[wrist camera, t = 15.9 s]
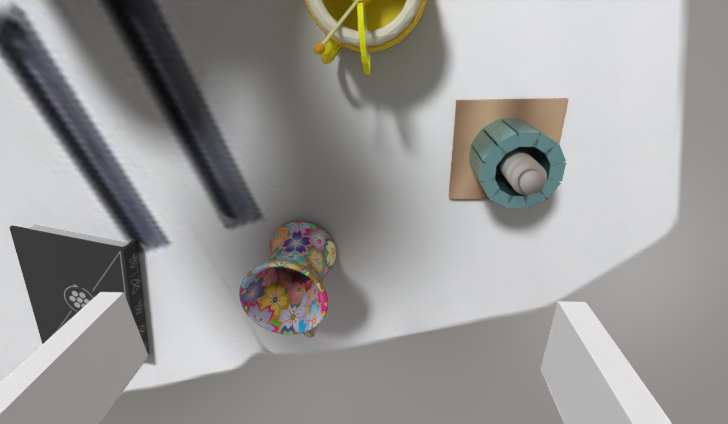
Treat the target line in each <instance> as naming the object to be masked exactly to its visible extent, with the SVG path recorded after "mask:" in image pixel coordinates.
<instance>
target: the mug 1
mask: <svg viewBox="0 0 728 424" xmlns="http://www.w3.org/2000/svg"><path fill="white" fill-rule="evenodd" d="M270 253H271V256H270V258H269V259H268V260H267V261H266V262H265V263H264V264H262V265H260V266H258V267H256V268H254V269H253V270H251V271H250V272H249V273H248V274H247V275H246V276H245V278H244V279H243V281H242V283H241V286H240V301H241V304H242V307H243V309H244V310H245V312H246V313H247V315H248V316H249V317H250V318H251V319H252V320H253V321H254V322H256V323H257V324H258V325H260V326H261V327H263V328H265V329H267V330H270V331H273V332H276V333H281V334H299V333H304V335H305V336H306V337H313V336H314V335H315V332H316V326H317V325H318V324H319V323H320V322H321V321H322V320H323V318H324V317H325V315H326V312H327V308H328V298H327V294H326V291H325V289H324V286H323V276H324V274H326V273H327V272H328V271H329V270H330V269H331V268H332V266H333V264H334V262H335V259H336V248H335V245H334V242H333V240H332V238H331V237H330V236H329V235H328V233H327V232H325V231H324V230H323V229H322V228H320V227H318V226H316V225H314V224H311V223H307V222H292V223H289V224H286V225H284V226H282V227H281V228H279V229H278V230H277V231H276V232H275V233H274V235H273V237H272V239H271V242H270ZM309 330H310V332H309Z"/></svg>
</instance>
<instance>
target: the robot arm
mask: <svg viewBox="0 0 728 424" xmlns="http://www.w3.org/2000/svg"><path fill="white" fill-rule="evenodd" d="M148 357H149V356H148V353H147V351H146V348H145V346H144V343H143V341H142V338H141V336H140V333H139V330H138V328H137V325H136V323H135V320H134V318H133V315H132V313H131V310H130V308H129V305H128V302H127V300H126V297H125V295H124V292H100V293H99V294H98V295H97V296H95V297H94V298H93V299H92V300H91V301H90V302H89V303H88V304H87V305H85V306H84V307H83V308H82V309H81V310H80V311H79V312H78V313H77V314H76V315H74V316H73V317H72V318H71V319H70V320H69V321H68V322H67V323H66V324H64V325H63V326H62V327H61V328H60V329H59V330H58V331H57V332H56V333H54V334H53V335H52V336H51V337H50V338H49V339H48V340H47V341H46V342H45V343H43V344H42V345H41V346H40V347H39V348H38V349H37V350H36V351H35V352H33V353H32V354H31V355H30V356H29V357H28V358H27V359H26V360H25V361H23V362H22V363H21V364H20V365H19V366H18V367H17V368H16V369H15V370H14V371H12V372H11V373H10V374H9V375H8V376H7V377H6V378H5V379H4V380H2V381H1V382H0V424H99V423H100V421H101V420H102V419H103V417H104V416H105V414H106V413H107V412H108V411H109V409H110V408H111V406H112V405H113V404H114V402H115V401H116V400H117V398H118V397H119V396H120V394H121V393H122V392H123V390H124V389H125V388H126V386H127V385H128V384H129V382H130V381H131V380H132V378H133V377H134V375H135V374H136V373H137V371H138V370H139V369H140V367H141V366H142V365H143V363H144V362H145V361H146V359H147V358H148ZM540 370H541V372H542V374H543V377H544V379H545V381H546V383H547V386H548V388H549V390H550V393H551V395H552V397H553V399H554V402H555V404H556V406H557V408H558V411H559V413H560V415H561V418H562V420H563V422H564V424H672V423H671V422H670V420H669V419H668V417H667V416H666V414H665V413H664V412H663V411H662V409H661V408H660V406H659V405H658V403H657V402H656V401H655V399H654V398H653V396H652V395H651V393H650V392H649V391H648V389H647V388H646V386H645V385H644V383H643V382H642V381H641V379H640V378H639V376H638V375H637V374H636V372H635V371H634V369H633V368H632V367H631V365H630V364H629V362H628V361H627V360H626V358H625V357H624V355H623V354H622V353H621V351H620V350H619V348H618V347H617V346H616V344H615V343H614V341H613V340H612V338H611V337H610V336H609V334H608V333H607V331H606V330H605V329H604V327H603V326H602V324H601V323H600V322H599V320H598V319H597V317H596V316H595V315H594V313H593V312H592V310H591V309H590V307H589V306H588V305H587V303H586V302H558V303H557V307H556V312H555V315H554V319H553V323H552V327H551V331H550V334H549V338H548V342H547V346H546V350H545V354H544V358H543V362H542V366H541V369H540Z"/></svg>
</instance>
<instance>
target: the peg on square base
mask: <svg viewBox="0 0 728 424" xmlns="http://www.w3.org/2000/svg"><path fill="white" fill-rule="evenodd" d="M567 103H568V99H566V98H554V99H497V100H456V112H455V125H454V137H453V150H452V162H451V175H450V188H449V199H489V198H488V196H487V194H486V193H485V191H484V189H483V187H482V186H481V184H480V182H479V180H478V179H477V177H476V175H475V173H474V171H473V169H472V167H471V165H470V162H469V155H470V145H472V144H471V143H472V142H473V140H474V139H475V137H476V136H477V134H478V133H479V132H480V130H481V129H482V130H484V129H483V127H485V126H487V125H489V124H490V123H492V122H494V121H496V120H498V119H500V120H501V118H520V119H522V120H524V121H526V122H527V123H529V124H531V125H532V126H534V127H536V128H537V129H538V130H540V131H541V132H543V133H544V134H546V135H547V136H549V137H550V138H552V139H553V140H555V141H556V142H557V143H558V144H559V142H560V137H561V132H562V127H563V123H564V118H565V113H566V108H567ZM528 151H529V147H518V148H516V149H514V150H512V151H510V152H508V153H506V154H505V155H504V157H503V158H502V159H501V161H500V162H499V163H498V165H497V167H496V174H503V175H504V177H505V178H506V179H507V180H508V182H509V183H510V184H511V186H512V187H513V188H514V190H515V191H516V192H518V193H520V194H523V195H531V194H536V193H538V192H540V191H541V190H542V189H543V188H544V186H545V183H546V180H547V173H546V171H545V169H544V168H543V167H542V166H541V165H540V164H539V163H538V162H537V161H536V160H535V159H533V158H532V157H531V156H530V155H529V154H528ZM545 198H546V199H548V198H547V197H545Z"/></svg>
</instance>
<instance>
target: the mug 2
mask: <svg viewBox="0 0 728 424" xmlns="http://www.w3.org/2000/svg"><path fill="white" fill-rule="evenodd" d="M305 2H306V6H307V8H308V11H309V12H310V14H311V16H312V17H313V19H314V21H316V23H317V25H318V26H319V27H320V28H321V30H322V31H323V32H324V33H325V34H326V35H327V36H326V37H325V39H324V40H323V41H322V42H320V43H316V44H315V47H314V51H315V52H316V54H322V56H321V60H322V62H323V63H324V64H329V63H331V62H332V61H333V60H334V58H335V56H336V55H337V53H338V51H339V50H340V48H348V49H350V50H353V51H358V52H361V60H362V66H363V70H364V75H370V74H371V68H370V52H378V51H383V50H386V49H388V48H390V47H392V46H394V45H396V44H398V43H399V42H401V41H402V40H403V39H404V38H405V37H406V36H408V35H409V33H410V32H411V31H412V30H413V29H414V28H415V26H416V25H417V23H418V22H419V20H420V18H421V16H422V14H423V11H424V8H425V6H426V3H427V0H305Z"/></svg>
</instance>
